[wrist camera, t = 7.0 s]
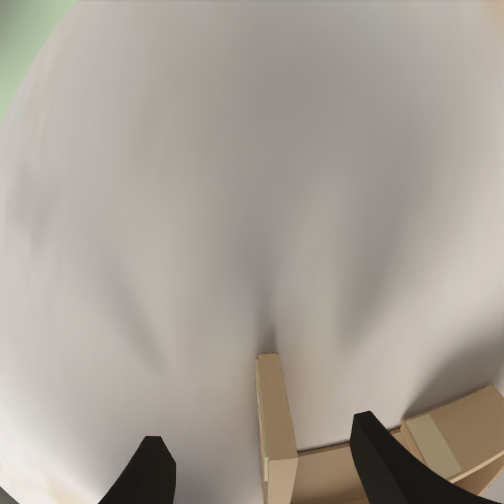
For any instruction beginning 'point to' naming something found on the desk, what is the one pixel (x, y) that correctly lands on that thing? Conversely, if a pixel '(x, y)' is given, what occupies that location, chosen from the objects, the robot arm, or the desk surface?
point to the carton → (348, 482)
